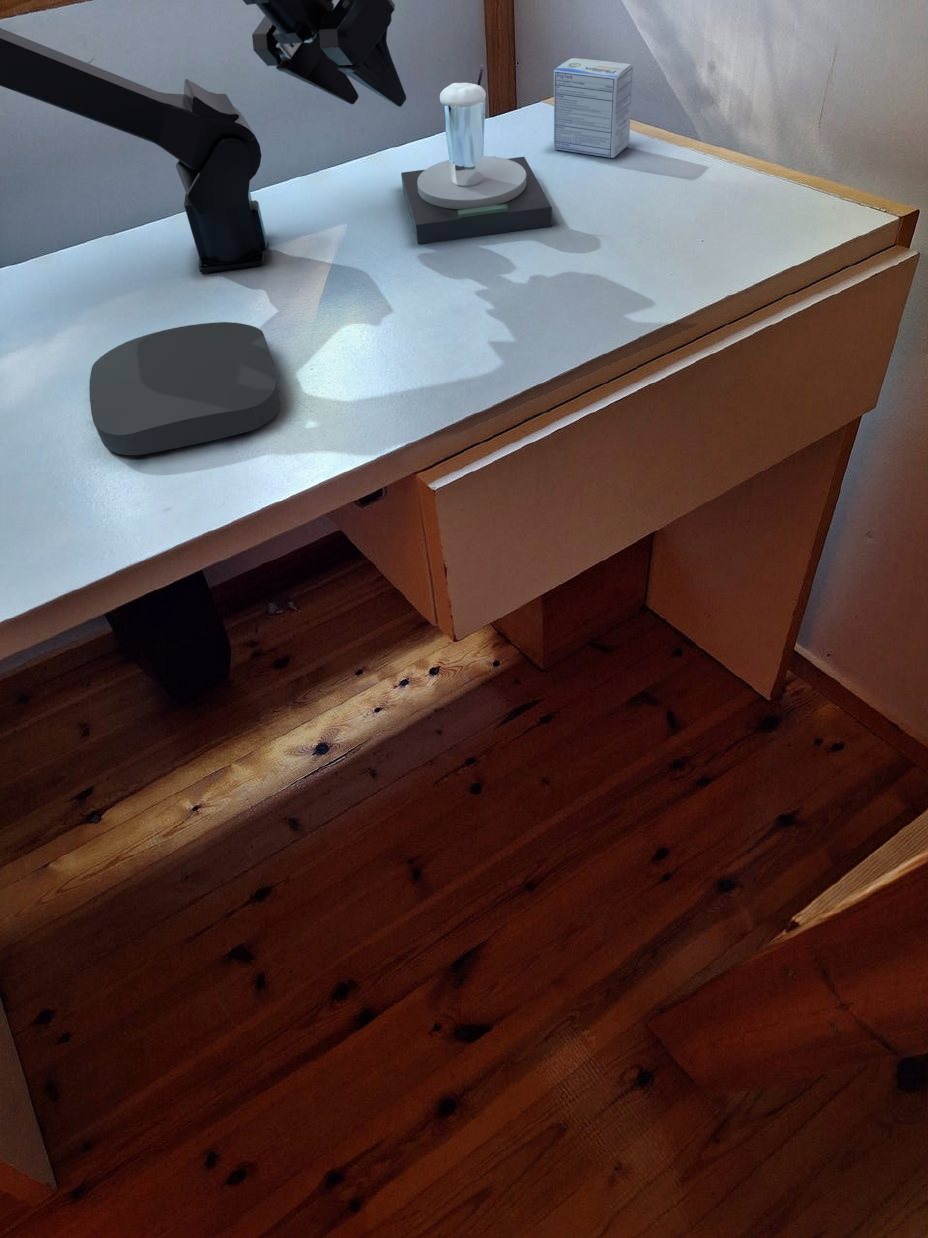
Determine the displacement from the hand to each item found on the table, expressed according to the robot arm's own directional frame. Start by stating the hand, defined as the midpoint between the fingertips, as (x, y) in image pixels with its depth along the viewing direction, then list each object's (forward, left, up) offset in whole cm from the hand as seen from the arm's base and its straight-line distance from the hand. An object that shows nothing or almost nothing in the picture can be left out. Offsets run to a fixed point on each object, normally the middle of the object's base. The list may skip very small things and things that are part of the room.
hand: (378, 101), depth 88 cm
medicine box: (+25, +13, -12) cm, 30 cm away
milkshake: (+9, +1, -9) cm, 12 cm away
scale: (+9, +1, -12) cm, 15 cm away
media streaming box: (-20, -29, -12) cm, 37 cm away
